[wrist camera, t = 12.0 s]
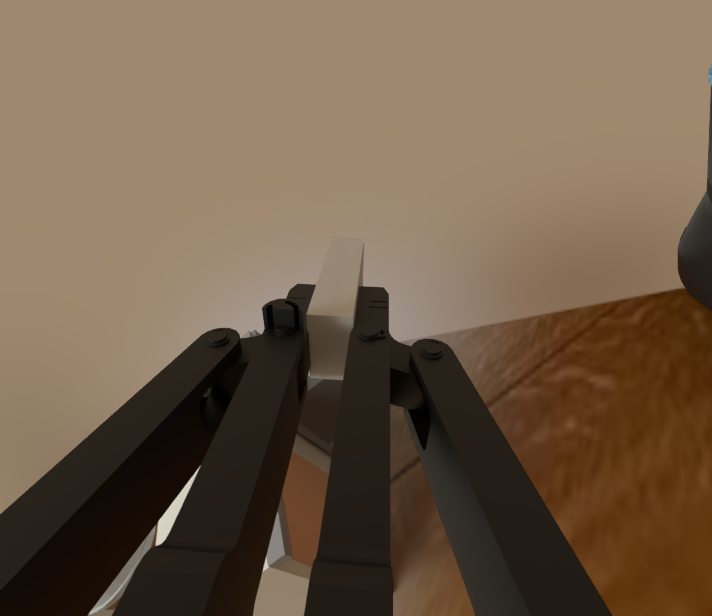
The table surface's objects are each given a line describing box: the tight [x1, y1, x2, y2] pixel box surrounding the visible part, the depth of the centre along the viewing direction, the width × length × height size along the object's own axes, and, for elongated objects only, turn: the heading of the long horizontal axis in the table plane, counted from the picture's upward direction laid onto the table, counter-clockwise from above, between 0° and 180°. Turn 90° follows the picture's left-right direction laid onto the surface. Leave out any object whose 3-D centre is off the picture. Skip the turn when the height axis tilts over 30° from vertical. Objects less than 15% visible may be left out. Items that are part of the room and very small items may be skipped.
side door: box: [252, 330, 343, 455], centre depth 42 cm, size 10×12×12 cm
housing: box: [156, 331, 332, 616], centre depth 37 cm, size 11×24×14 cm, turn 22°
